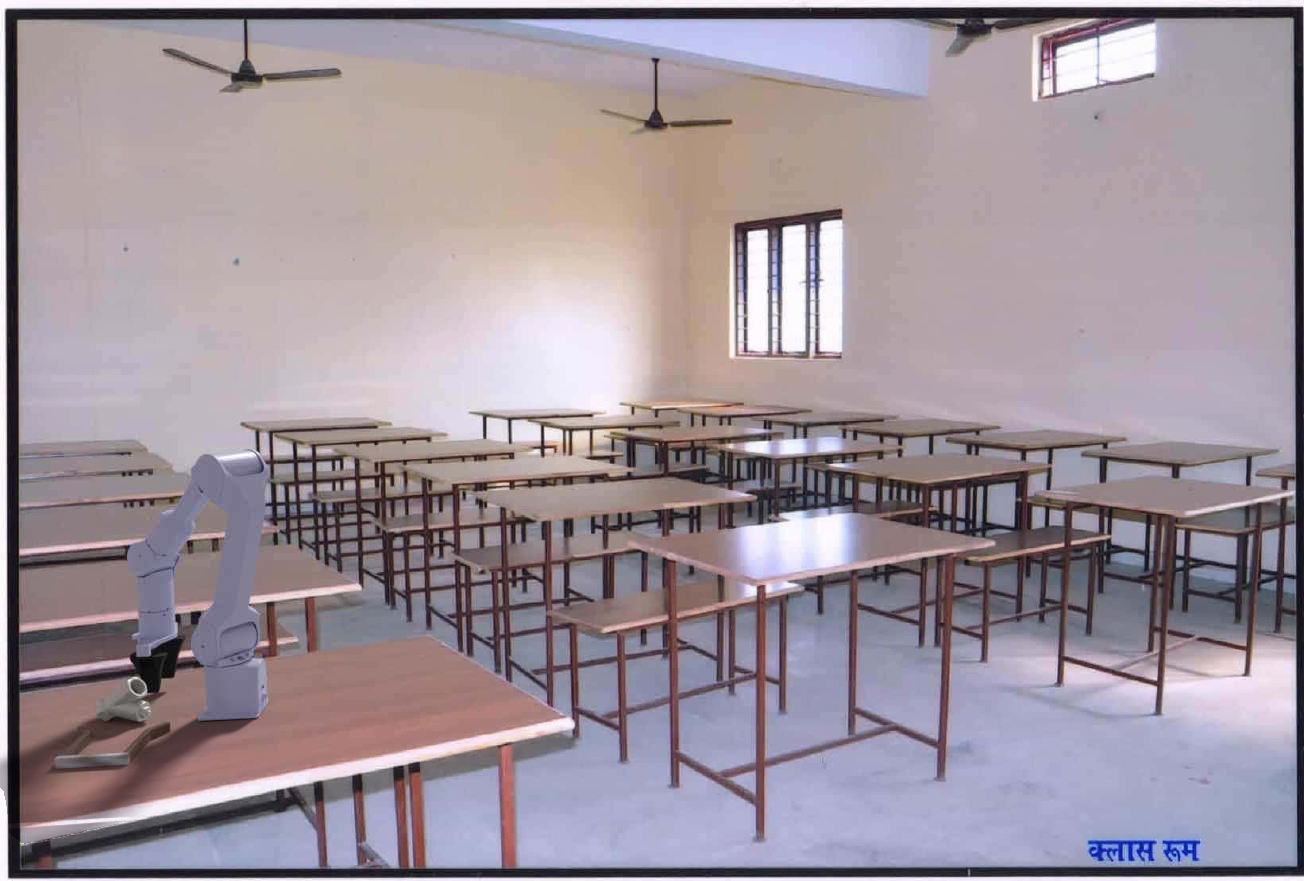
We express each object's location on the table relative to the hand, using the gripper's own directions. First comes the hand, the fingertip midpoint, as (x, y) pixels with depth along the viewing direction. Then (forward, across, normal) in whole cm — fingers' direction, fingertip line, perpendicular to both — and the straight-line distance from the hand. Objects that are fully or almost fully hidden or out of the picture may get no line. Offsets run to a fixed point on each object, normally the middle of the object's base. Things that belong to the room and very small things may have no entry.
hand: (160, 685), depth 178 cm
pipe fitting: (+3, +11, 0) cm, 12 cm away
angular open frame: (+2, +24, 0) cm, 24 cm away
